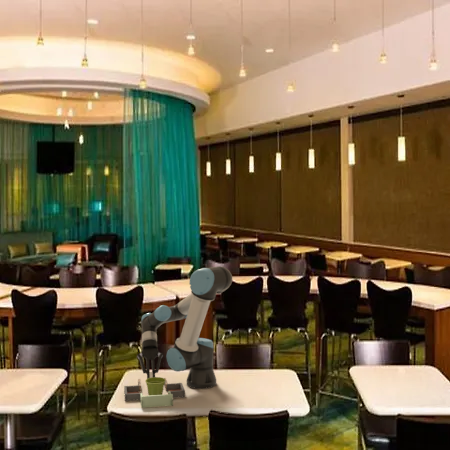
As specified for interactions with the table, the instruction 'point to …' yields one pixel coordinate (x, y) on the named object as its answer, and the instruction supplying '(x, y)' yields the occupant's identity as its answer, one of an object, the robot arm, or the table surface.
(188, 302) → the robot arm
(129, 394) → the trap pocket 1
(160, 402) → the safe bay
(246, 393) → the table surface
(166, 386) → the chute
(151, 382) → the plant pot
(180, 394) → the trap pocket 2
